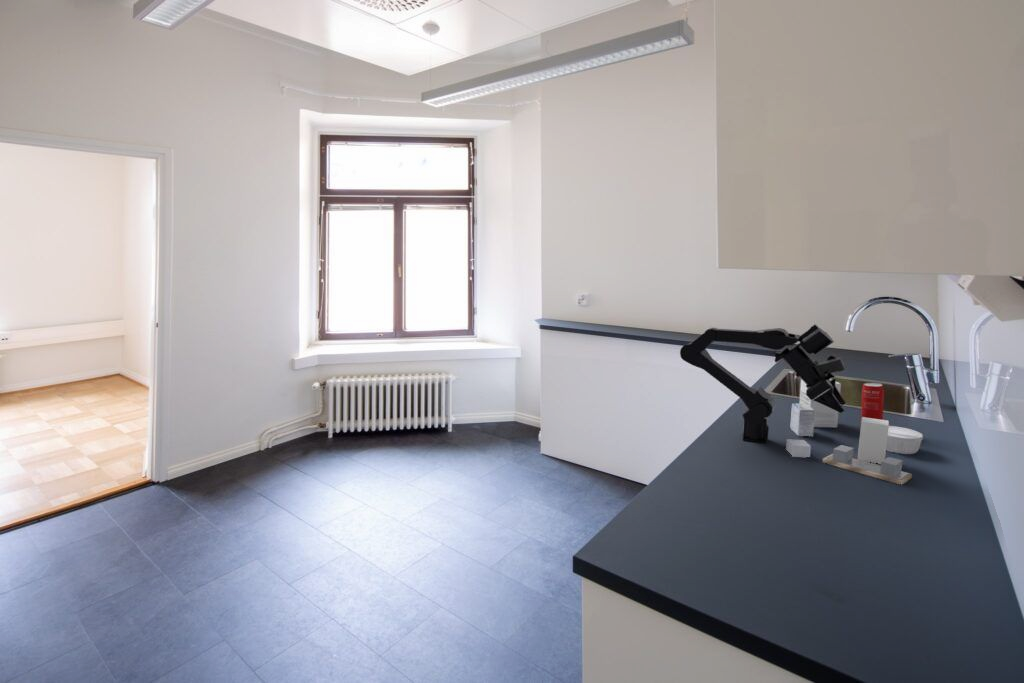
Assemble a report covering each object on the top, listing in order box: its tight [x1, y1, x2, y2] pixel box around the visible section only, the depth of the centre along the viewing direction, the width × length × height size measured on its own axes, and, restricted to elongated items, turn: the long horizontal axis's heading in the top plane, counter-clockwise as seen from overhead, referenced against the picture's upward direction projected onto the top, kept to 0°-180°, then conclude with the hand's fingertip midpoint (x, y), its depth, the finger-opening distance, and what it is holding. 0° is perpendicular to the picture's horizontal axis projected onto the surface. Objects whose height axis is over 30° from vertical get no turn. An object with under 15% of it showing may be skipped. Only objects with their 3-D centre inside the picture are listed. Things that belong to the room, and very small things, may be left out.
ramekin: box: [886, 425, 924, 455], centre depth 150 cm, size 11×11×5 cm
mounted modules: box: [832, 444, 904, 477], centre depth 135 cm, size 14×5×3 cm, turn 37°
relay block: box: [785, 438, 812, 458], centre depth 146 cm, size 4×5×4 cm
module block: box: [857, 417, 890, 465], centre depth 142 cm, size 6×5×11 cm
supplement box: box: [799, 378, 842, 429], centre depth 173 cm, size 9×9×15 cm
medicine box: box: [789, 402, 815, 438], centre depth 164 cm, size 8×4×9 cm, turn 168°
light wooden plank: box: [826, 454, 909, 480], centre depth 135 cm, size 17×6×1 cm, turn 37°
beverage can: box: [860, 382, 885, 422], centre depth 167 cm, size 6×6×15 cm
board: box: [822, 453, 913, 486], centre depth 135 cm, size 18×7×1 cm, turn 37°
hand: (843, 407), depth 145 cm, fingers open, 9 cm apart
